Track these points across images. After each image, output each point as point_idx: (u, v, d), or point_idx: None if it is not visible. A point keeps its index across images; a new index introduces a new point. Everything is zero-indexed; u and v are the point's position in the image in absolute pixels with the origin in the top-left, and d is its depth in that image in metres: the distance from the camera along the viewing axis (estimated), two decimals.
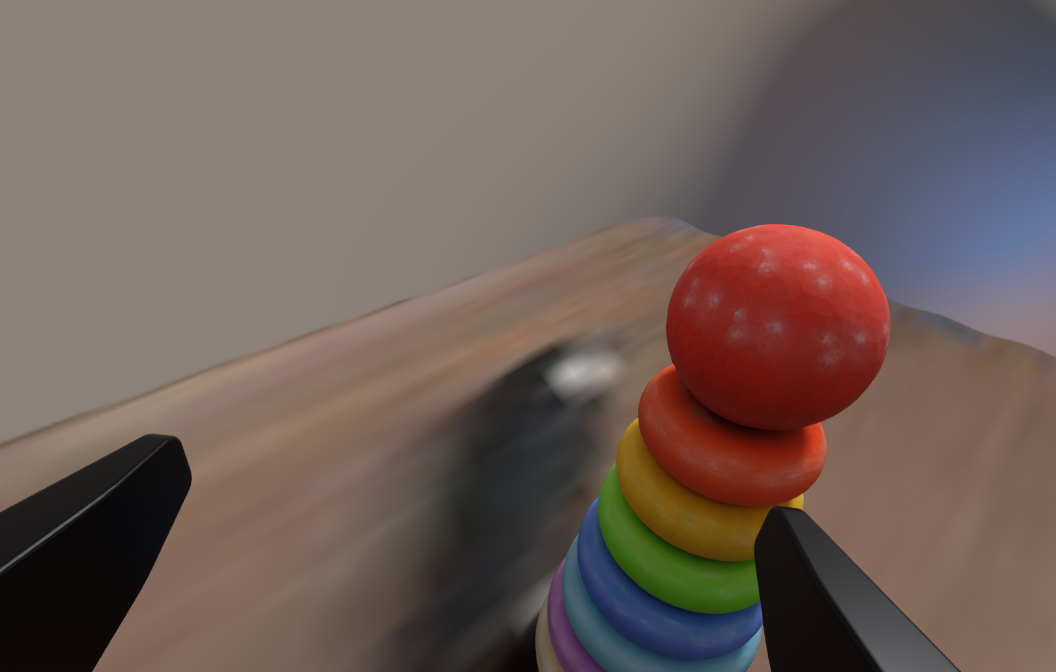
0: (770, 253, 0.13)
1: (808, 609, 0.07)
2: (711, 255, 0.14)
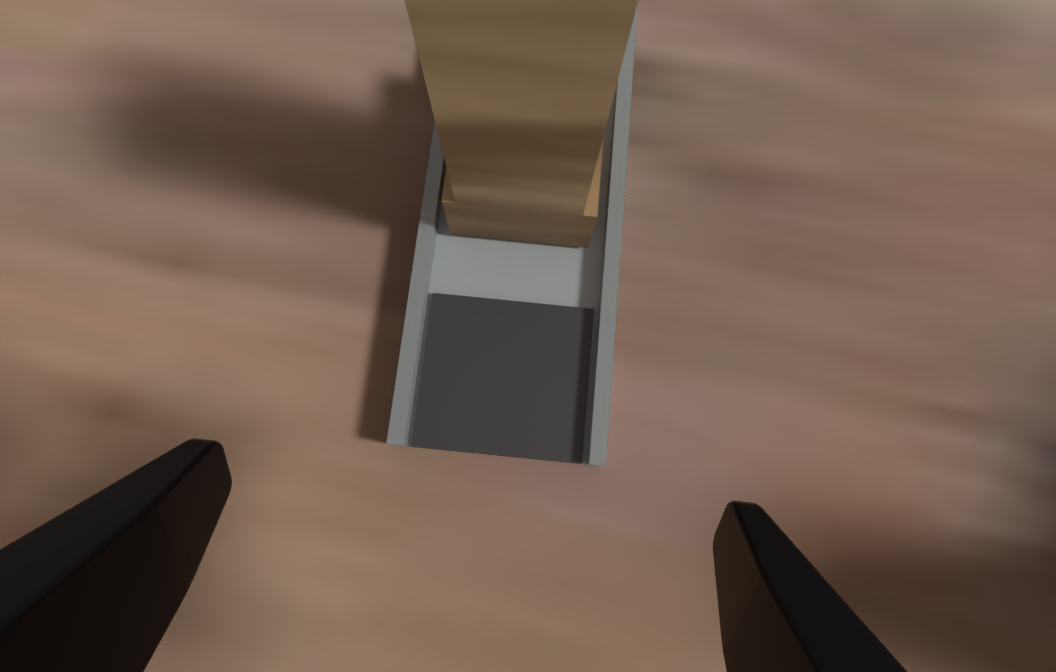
0: None
1: (757, 603, 0.07)
2: None
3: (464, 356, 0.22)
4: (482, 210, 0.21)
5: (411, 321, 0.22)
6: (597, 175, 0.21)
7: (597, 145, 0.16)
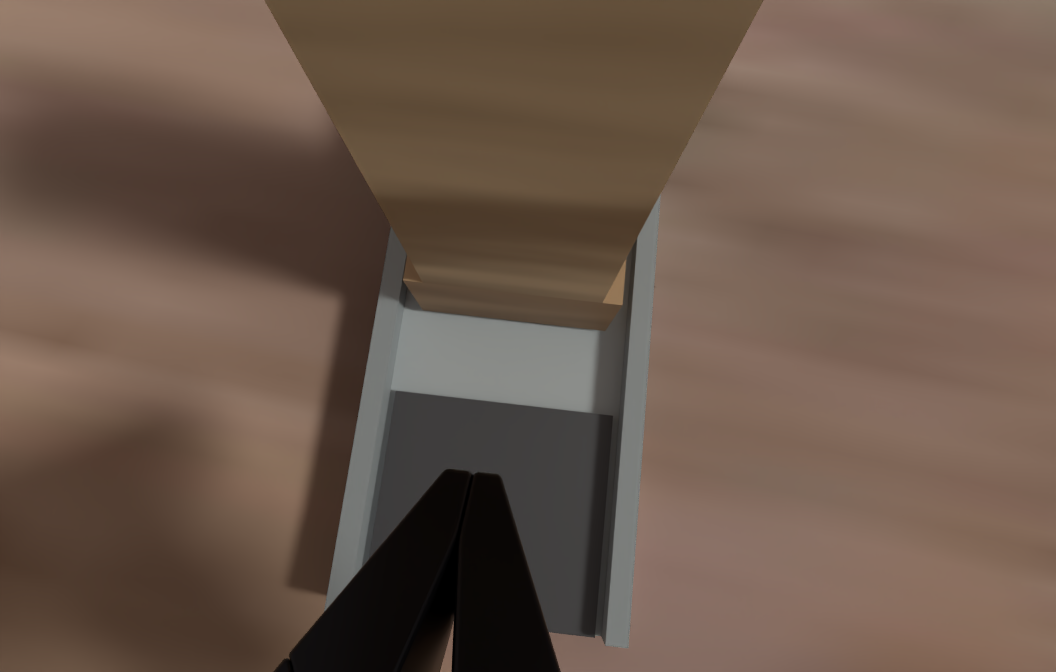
0: None
1: None
2: None
3: None
4: (462, 290, 0.15)
5: (364, 435, 0.16)
6: None
7: (634, 232, 0.10)
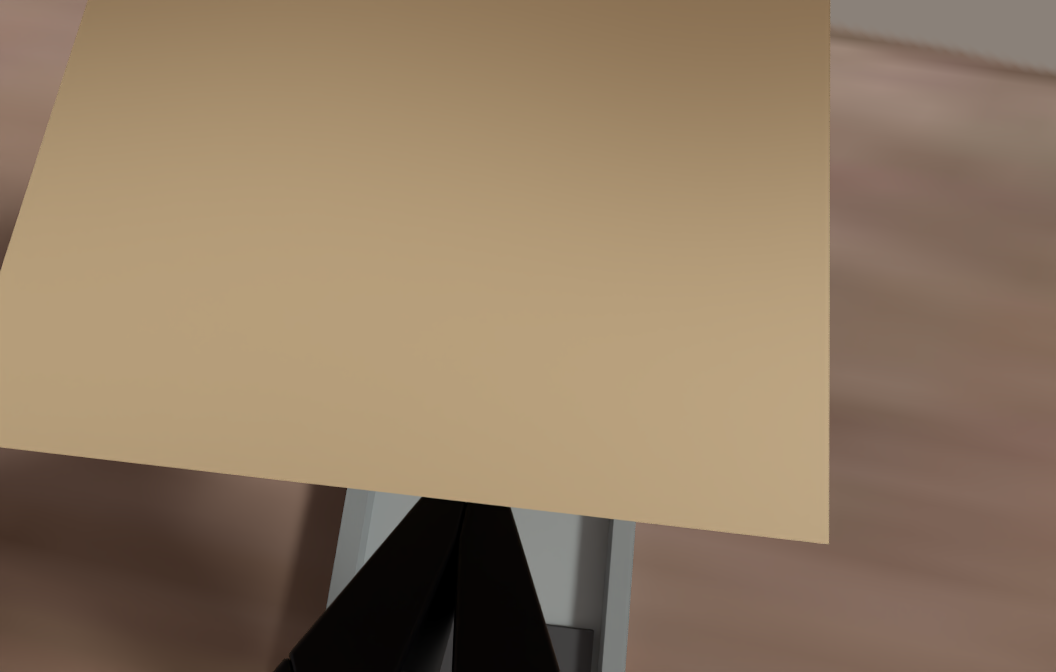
0: None
1: None
2: None
3: None
4: None
5: None
6: None
7: None
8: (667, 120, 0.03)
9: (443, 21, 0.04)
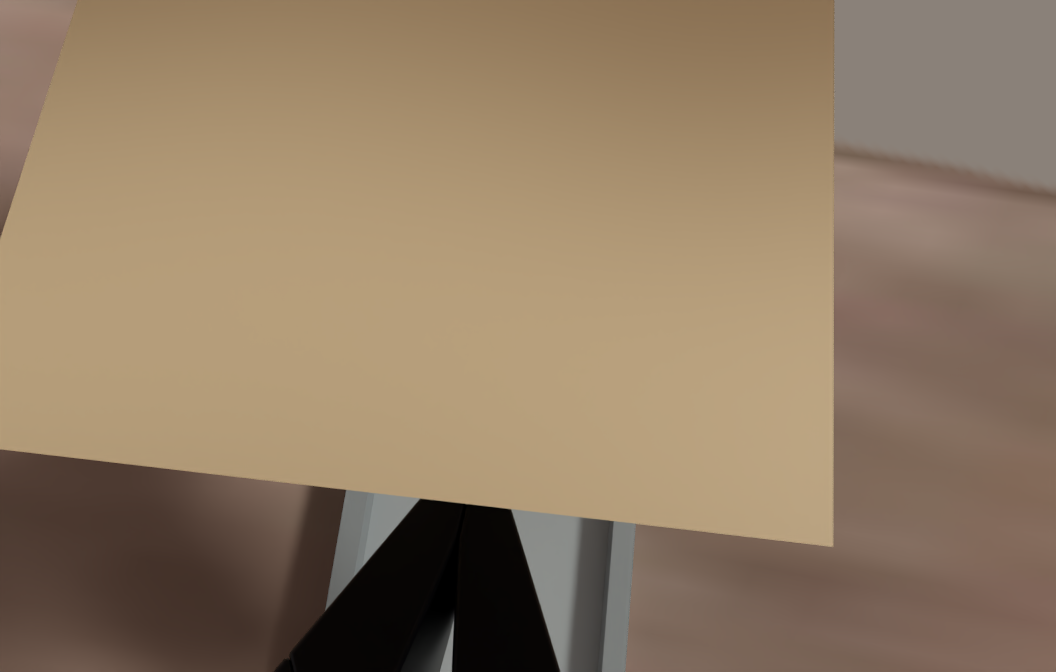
0: None
1: None
2: None
3: None
4: None
5: None
6: None
7: None
8: (670, 116, 0.03)
9: (440, 13, 0.03)
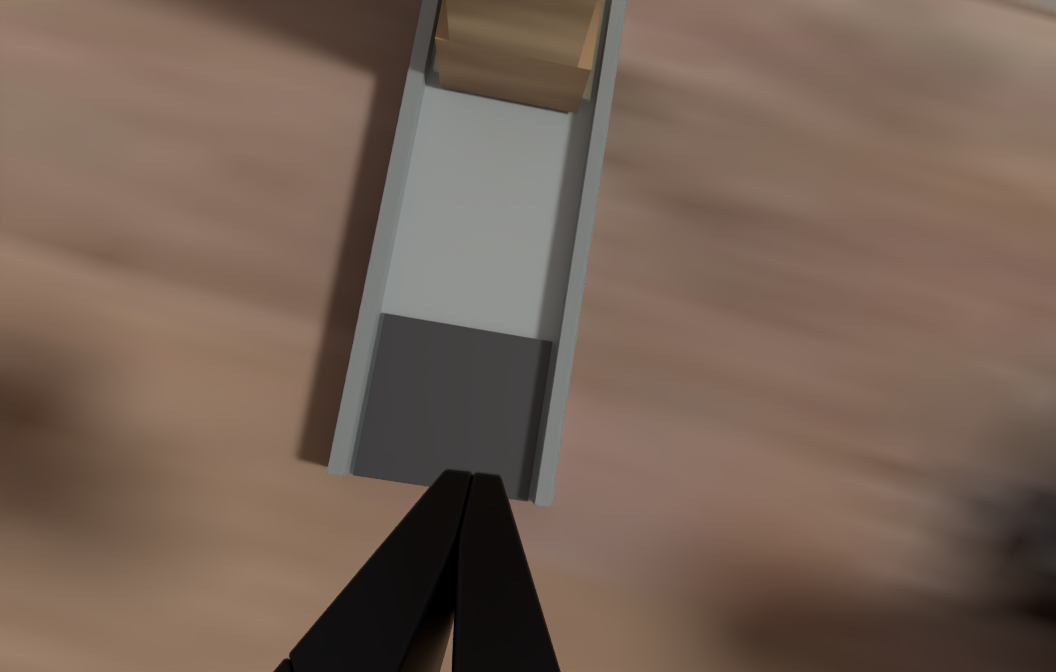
0: None
1: None
2: None
3: (414, 383, 0.21)
4: (476, 53, 0.20)
5: (360, 345, 0.21)
6: (594, 28, 0.20)
7: None
8: None
9: None
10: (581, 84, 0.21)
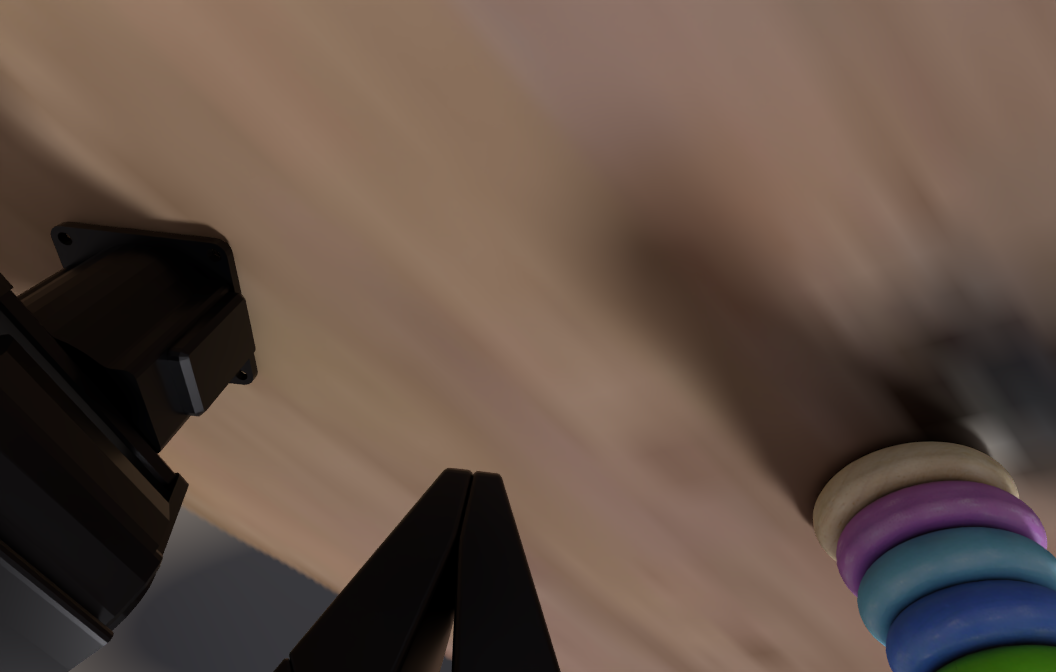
0: None
1: None
2: None
3: None
4: None
5: None
6: None
7: None
8: None
9: None
10: None
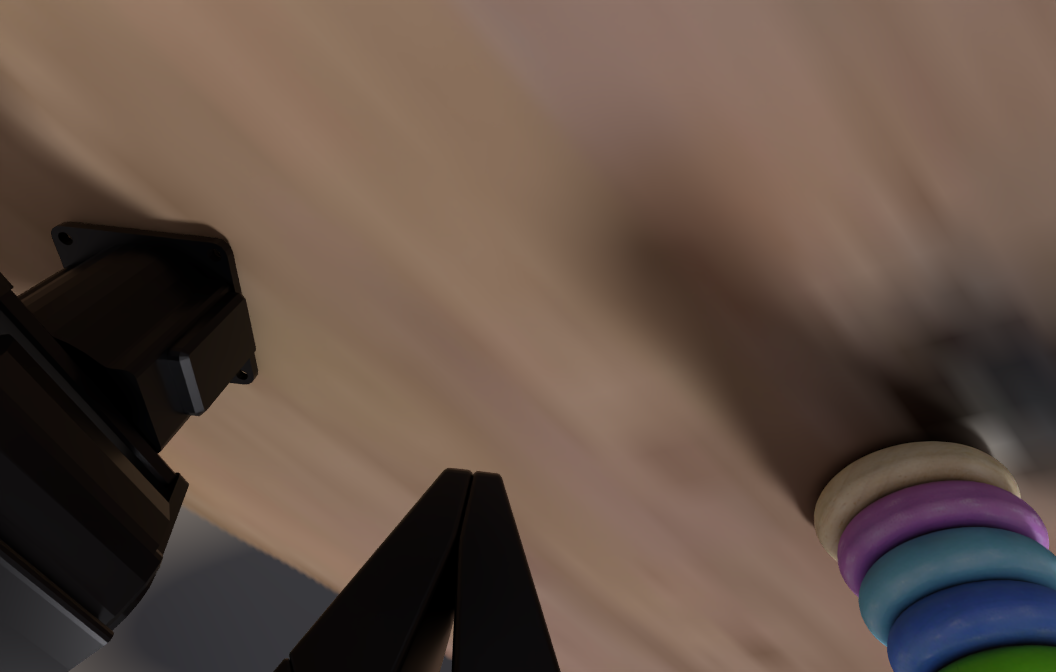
0: None
1: None
2: None
3: None
4: None
5: None
6: None
7: None
8: None
9: None
10: None
